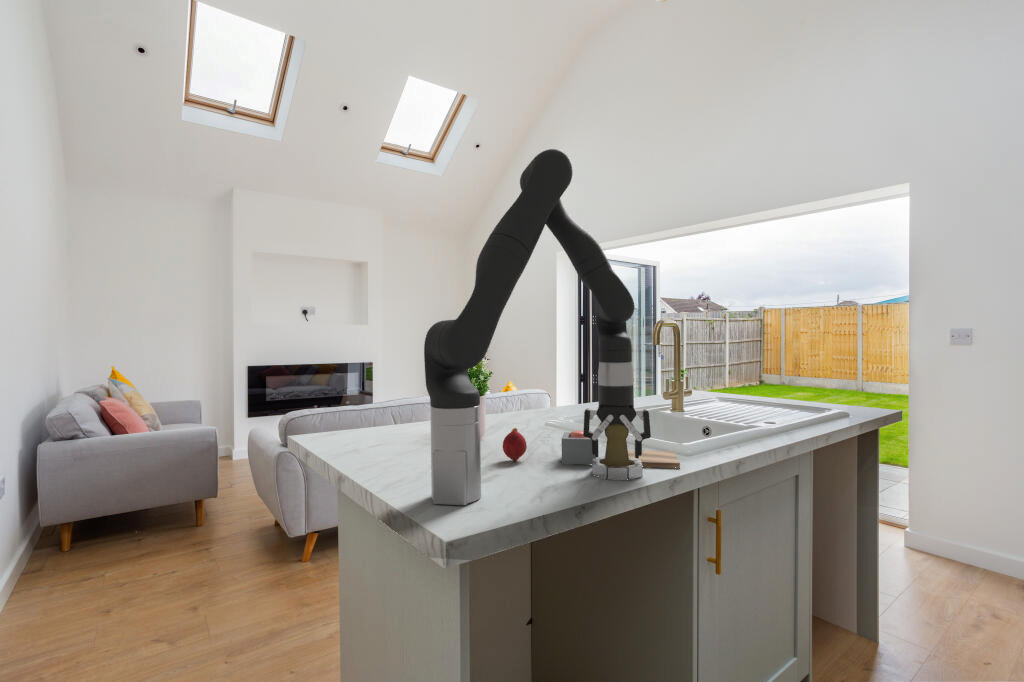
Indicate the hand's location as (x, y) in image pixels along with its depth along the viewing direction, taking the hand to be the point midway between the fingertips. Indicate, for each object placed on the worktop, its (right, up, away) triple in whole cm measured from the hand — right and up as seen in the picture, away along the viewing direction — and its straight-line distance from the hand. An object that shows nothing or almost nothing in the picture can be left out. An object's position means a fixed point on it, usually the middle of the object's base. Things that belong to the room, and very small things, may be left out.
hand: (616, 457), depth 110 cm
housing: (-7, -4, +12) cm, 14 cm away
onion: (-22, -4, +12) cm, 25 cm away
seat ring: (0, -4, 0) cm, 4 cm away
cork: (0, -4, 0) cm, 4 cm away
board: (+10, -3, +10) cm, 15 cm away
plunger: (-7, -3, +12) cm, 14 cm away
